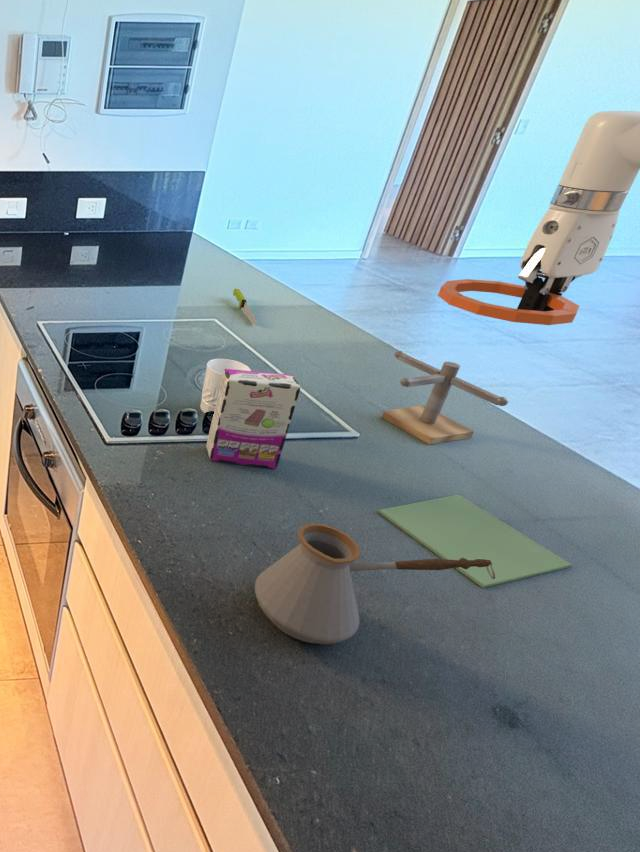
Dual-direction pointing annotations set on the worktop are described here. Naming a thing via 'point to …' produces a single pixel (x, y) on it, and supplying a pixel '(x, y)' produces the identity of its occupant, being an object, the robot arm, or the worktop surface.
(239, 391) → the candy bar box
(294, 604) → the coffee pot
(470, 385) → the ring stand
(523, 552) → the mat
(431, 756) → the worktop surface
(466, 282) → the ring
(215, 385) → the white cup
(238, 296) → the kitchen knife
